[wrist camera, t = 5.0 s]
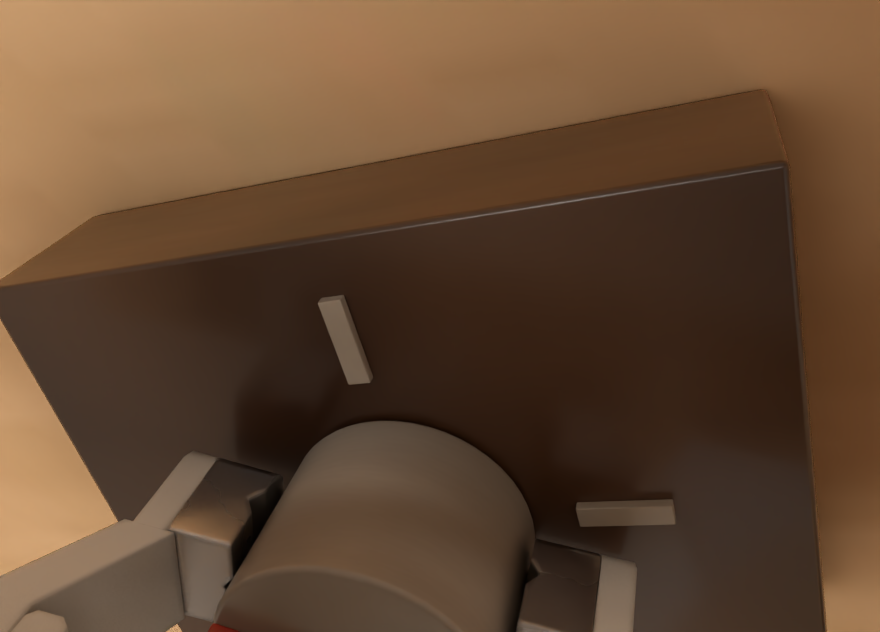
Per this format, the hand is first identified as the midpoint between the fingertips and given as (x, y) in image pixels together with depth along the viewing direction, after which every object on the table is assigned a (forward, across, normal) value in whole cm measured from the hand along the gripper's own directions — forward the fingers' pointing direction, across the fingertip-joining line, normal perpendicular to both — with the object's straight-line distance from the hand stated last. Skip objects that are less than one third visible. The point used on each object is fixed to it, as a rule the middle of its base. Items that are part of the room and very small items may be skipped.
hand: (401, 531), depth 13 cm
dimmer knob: (+1, 0, 0) cm, 1 cm away
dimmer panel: (+4, 0, 0) cm, 4 cm away
